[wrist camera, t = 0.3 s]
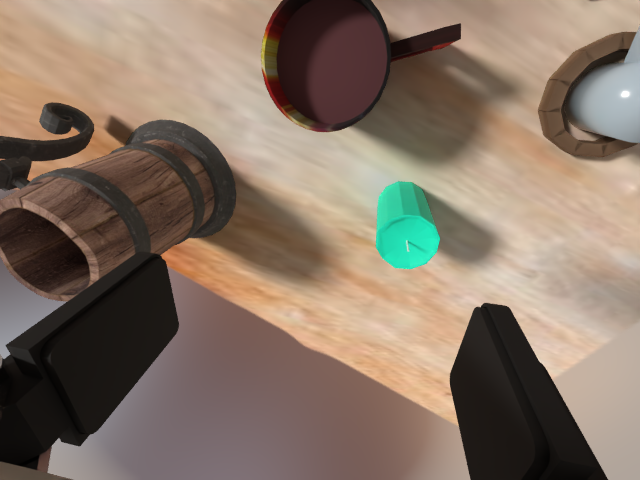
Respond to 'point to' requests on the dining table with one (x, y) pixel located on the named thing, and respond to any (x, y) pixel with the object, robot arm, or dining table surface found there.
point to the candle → (405, 226)
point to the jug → (609, 98)
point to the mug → (334, 59)
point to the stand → (558, 90)
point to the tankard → (106, 200)
